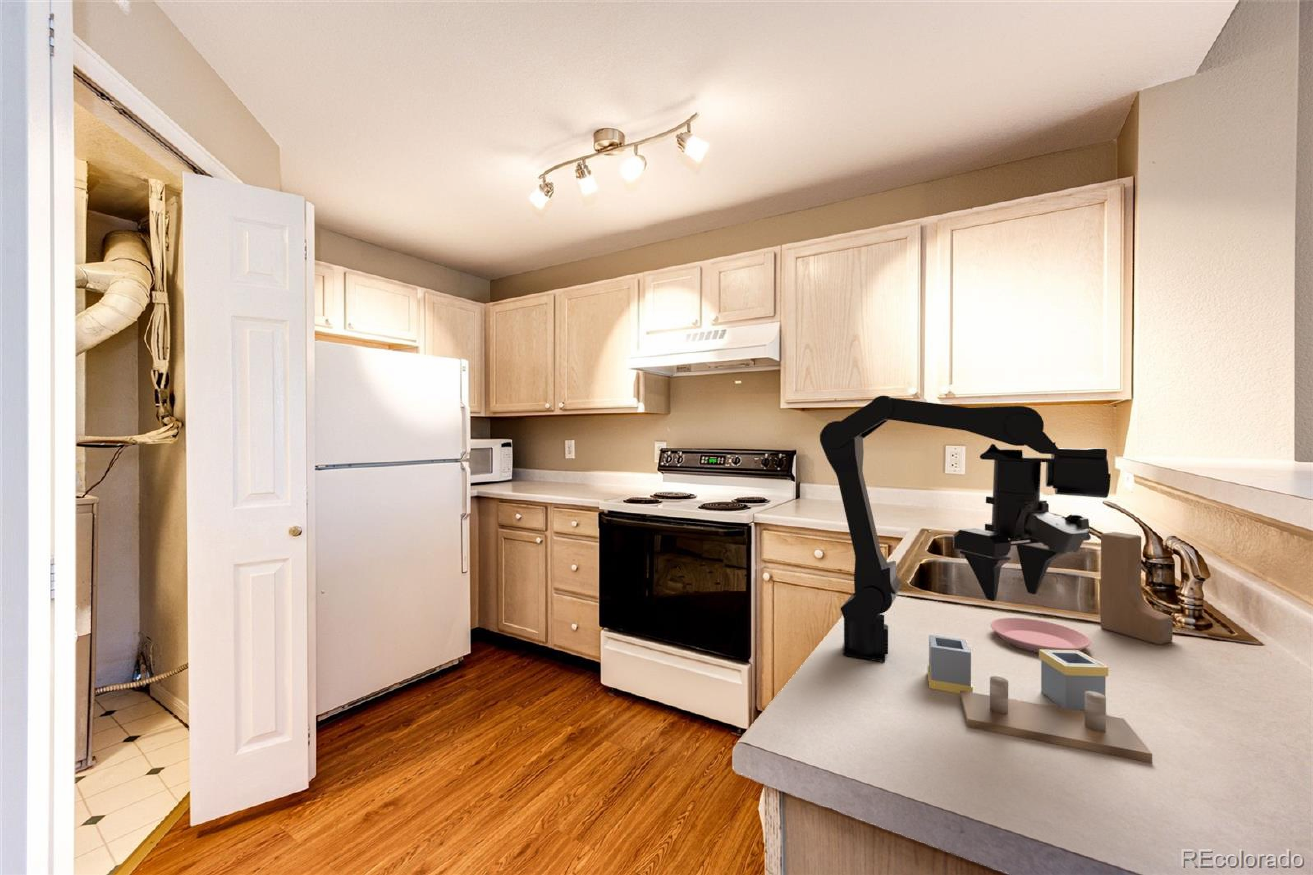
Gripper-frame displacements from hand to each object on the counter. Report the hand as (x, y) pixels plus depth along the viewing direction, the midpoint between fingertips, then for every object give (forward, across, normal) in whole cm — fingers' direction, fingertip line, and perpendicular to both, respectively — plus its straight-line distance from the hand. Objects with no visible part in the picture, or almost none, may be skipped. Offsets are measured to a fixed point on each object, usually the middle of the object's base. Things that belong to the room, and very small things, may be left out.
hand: (1011, 596), depth 78 cm
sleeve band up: (+13, +2, -7) cm, 15 cm away
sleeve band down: (+13, -8, +3) cm, 16 cm away
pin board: (+13, -8, -10) cm, 18 cm away
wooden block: (+12, +40, +3) cm, 42 cm away
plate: (+13, +20, +8) cm, 25 cm away
